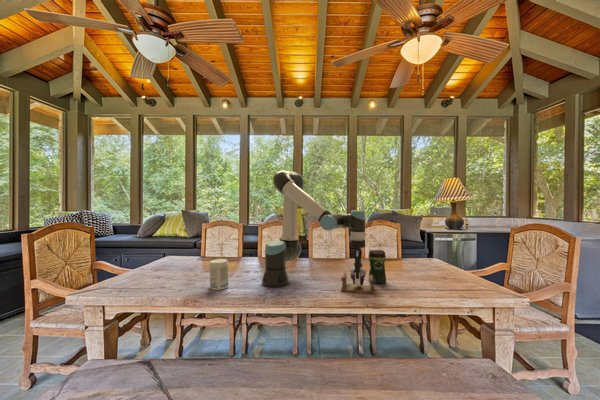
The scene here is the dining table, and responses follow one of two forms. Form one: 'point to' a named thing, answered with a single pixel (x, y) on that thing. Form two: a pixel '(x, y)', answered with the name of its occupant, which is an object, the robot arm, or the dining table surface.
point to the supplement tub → (218, 274)
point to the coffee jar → (377, 266)
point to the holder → (357, 286)
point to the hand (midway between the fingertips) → (358, 282)
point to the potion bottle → (362, 274)
